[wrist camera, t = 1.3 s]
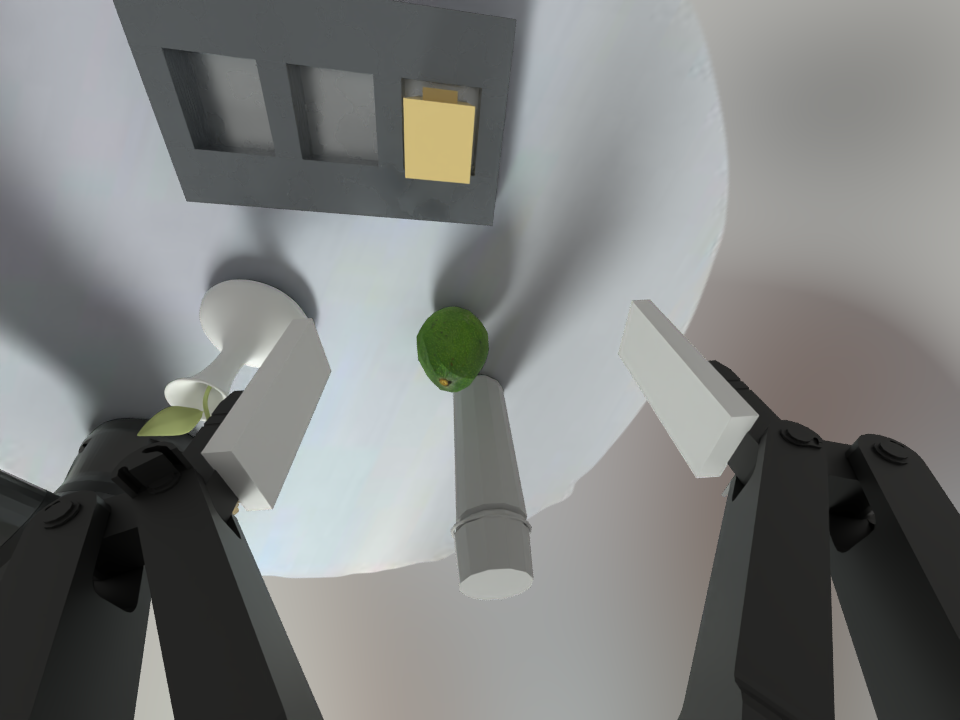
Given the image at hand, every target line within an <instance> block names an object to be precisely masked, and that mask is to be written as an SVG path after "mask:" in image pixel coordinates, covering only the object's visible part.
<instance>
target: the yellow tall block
mask: <svg viewBox="0 0 960 720" xmlns="http://www.w3.org/2000/svg"><path fill="white" fill-rule="evenodd" d="M457 98H458V91H452V90H444V89H436V88H428V87H423V97H422V96H414V97H407V98H403V106H404V148H405V178H412V179H423V180H433V181H444V182H455V183H465V184H470V171H471V157H472V144H473V130H474V117H475V106H473V105H471V104H469V103H467V102H463V101H457Z"/></svg>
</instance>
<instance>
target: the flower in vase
mask: <svg viewBox="0 0 960 720" xmlns="http://www.w3.org/2000/svg"><path fill="white" fill-rule="evenodd" d="M199 315H200V322H201V326H202V328H203V330H204V332H205V334H206V336H207V337H208V338H209V340H210V341H211V342H212V344H213V345H214V346H215V347H216V348H217V349H218V350H219V351H220V352H221V353H220V354H219V355H218V357H217V358H216V359H215V360H214V361H213V362H212V363H211V364H210V365H209V366H208V367H206V368H205V369H204V370H203V371H201V372H200V373H198V374H196V375H194V376H192V377H187V378H179V379H176V380H174V381H171V382H170V383H169V384H168V385H167V386H166V387H165V391H164V394H165V398H166V400H167V401H168V403H169V404H170V405H171V407H167V408H165V409H163V410H161V411H160V412H158V413H157V414H156V415H154V416H153V417H152V418H151V419H150V420H149V421H148V422H147V423H146V424H145V425H144V426H143V427H142V429H141V430H140V431H139V433H138V434H137V436H173V435H182V434H186V433H188V432H190V431H191V430H192V429H193V428H194V427H195V426H196V424H197V423H198V422H199V421H200V420H201V421H207V419H208V418H209V417H211V416H212V415H211V414H212V413H213V411H214V410H215V409H216V407H217V406H218V404H219V403H220V402H221V401H222V400H224V399H225V398H226V397H227V396H229V391H230V388H231V385H232V383H233V381H234V379H235V377H236V375H237V374H238V372H239V371H240V369H241V368H242V367H243V366H244V365H247V366H251V367H257V368H260V366H261V365H262V364H263V362H264V361H265V359H266V358H267V356H268V355H269V353H270V352H271V350H272V349H273V348H274V346H275V345H276V343H277V342H278V340H279V339H280V337H281V336H282V334H283V333H284V332H285V330H286V329H287V327H288V326H289V324H290V323H291V321H292V320H293V319H307V317H306V315H305V313H304V312H303V310H302V309H301V308H300V307H299V305H298V304H297V303H296V302H295V301H294V300H293V299H292V298H290V297H289V296H288V295H286V294H285V293H283V292H282V291H280V290H278V289H276V288H274V287H272V286H269V285H267V284H264V283H260V282H257V281H251V280H242V279H237V280H228V281H224V282H221V283H219V284H217V285H215V286H213V287H212V288H210V289H209V290H208V291H207V292H206V294H205V295H204V297H203V299H202V302H201V306H200V313H199ZM238 503H240V502H239V501H238V502H237V504H236V506H235V508H234V510H233V512H232V513H233V515H235V514H236V513H238V511H239V509H238V508H237V507H238V506H239V504H238Z"/></svg>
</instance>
